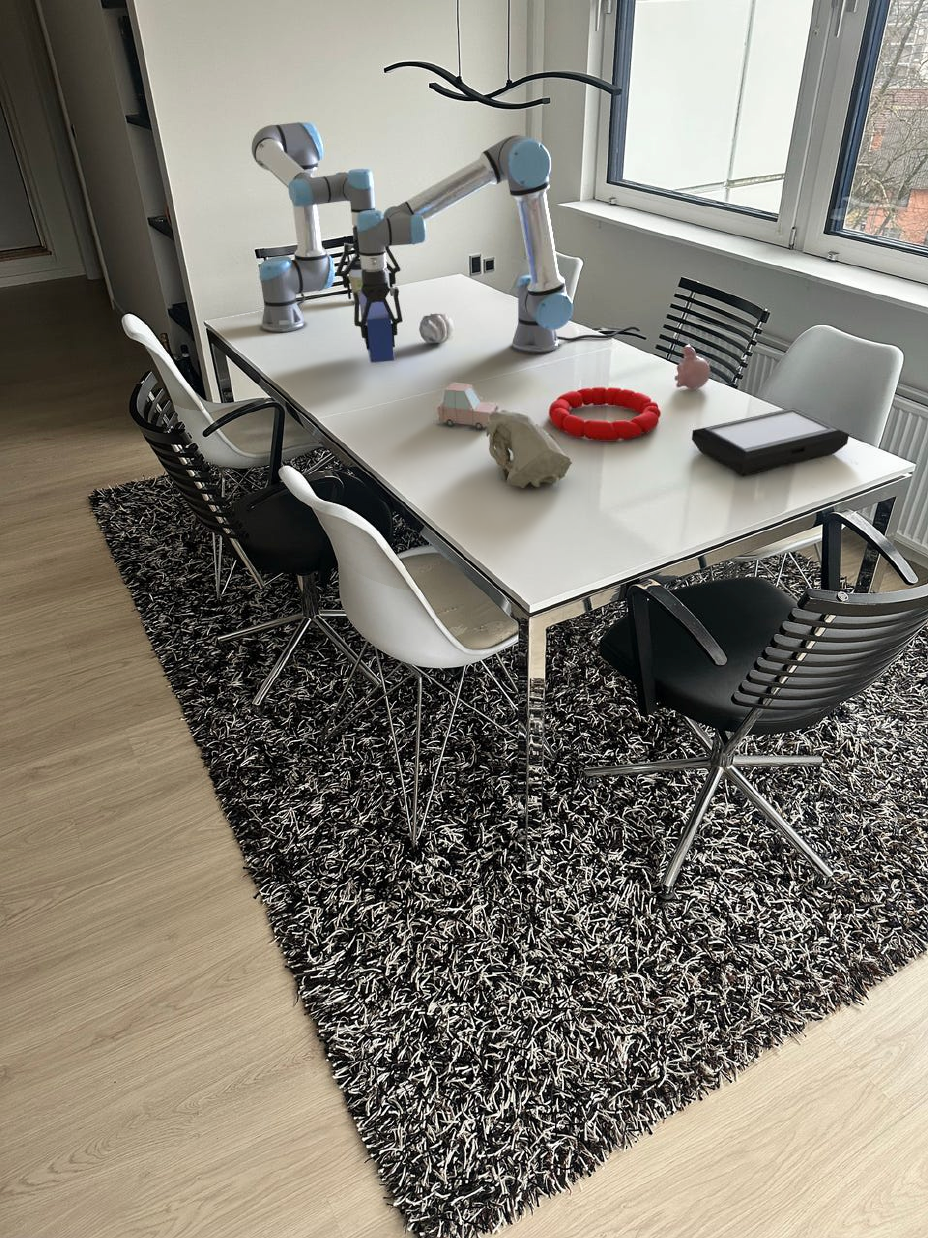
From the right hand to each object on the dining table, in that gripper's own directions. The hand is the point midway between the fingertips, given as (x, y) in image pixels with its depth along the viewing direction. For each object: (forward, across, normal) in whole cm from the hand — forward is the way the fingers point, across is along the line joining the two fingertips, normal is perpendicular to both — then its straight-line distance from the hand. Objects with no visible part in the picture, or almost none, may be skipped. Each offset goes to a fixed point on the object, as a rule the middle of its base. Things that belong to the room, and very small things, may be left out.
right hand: (380, 346), depth 273 cm
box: (+3, 0, +12) cm, 12 cm away
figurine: (+10, +88, -33) cm, 94 cm away
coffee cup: (+10, +1, +90) cm, 90 cm away
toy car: (+10, +19, -43) cm, 48 cm away
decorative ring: (+10, +56, -51) cm, 76 cm away
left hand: (-9, 0, +23) cm, 25 cm away
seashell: (+10, +22, +30) cm, 38 cm away
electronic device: (+10, +89, -80) cm, 120 cm away
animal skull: (+10, +26, -76) cm, 81 cm away
